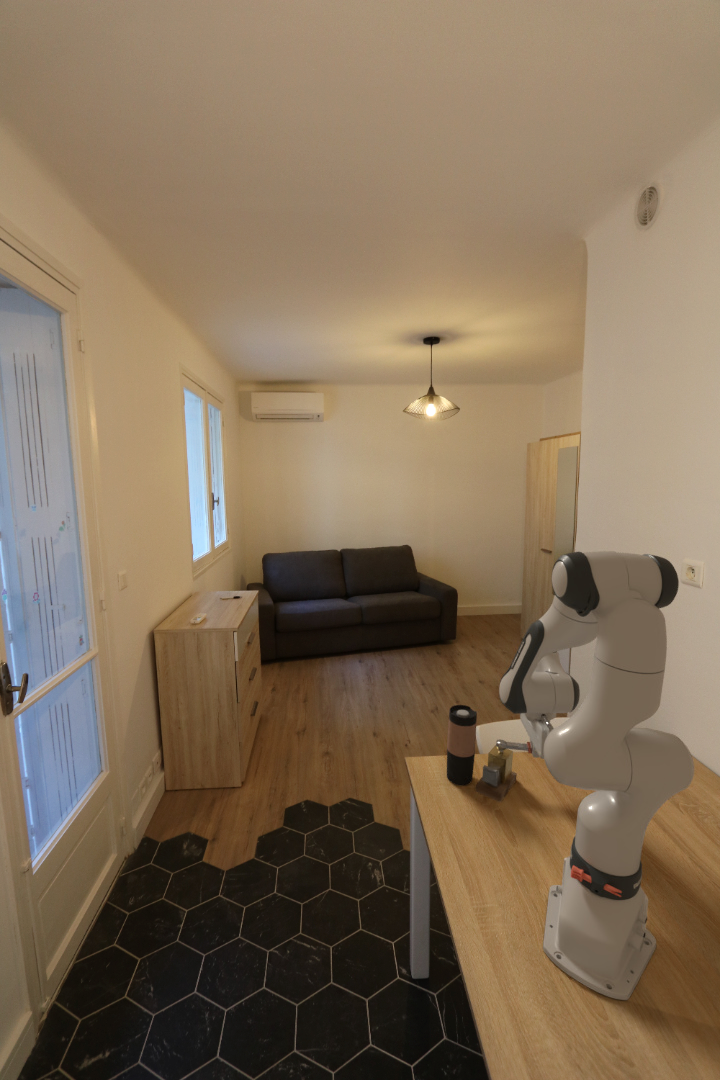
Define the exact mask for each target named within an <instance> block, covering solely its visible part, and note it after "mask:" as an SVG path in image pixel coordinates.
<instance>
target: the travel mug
mask: <svg viewBox="0 0 720 1080" xmlns="http://www.w3.org/2000/svg"><path fill="white" fill-rule="evenodd" d="M448 713H449V714H448V729H447V744H446V746H447V747H446V779H447V780H448V781H449V782H450V783H452V784H454V785H457V786H460V787H461V786H468V785H470V784H471V783H472V782H473V777H474V776H473V775H474V766H475V755H476V741H477V740H476V739H477V718H478V716H477V715H478V714H477V711H476V710H473V709H472V708H471V707H470V706H468V705H464V704H455V705H452V706H451V707H450V708H449V712H448Z"/></svg>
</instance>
